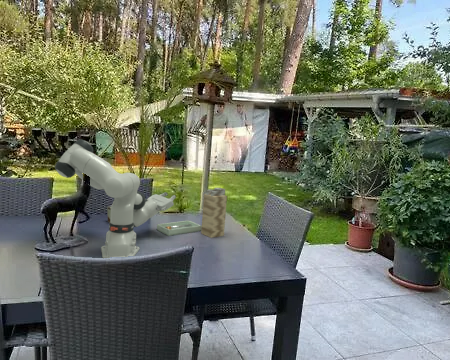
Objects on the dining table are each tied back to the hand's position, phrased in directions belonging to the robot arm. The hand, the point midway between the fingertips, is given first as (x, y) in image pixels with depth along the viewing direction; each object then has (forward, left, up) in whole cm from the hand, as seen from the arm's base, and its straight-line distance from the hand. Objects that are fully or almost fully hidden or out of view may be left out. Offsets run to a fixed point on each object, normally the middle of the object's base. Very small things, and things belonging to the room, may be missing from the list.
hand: (170, 194), depth 220 cm
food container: (+18, +33, -24) cm, 45 cm away
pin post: (-2, -27, -23) cm, 36 cm away
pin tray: (+5, -7, -23) cm, 25 cm away
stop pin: (+5, -7, -23) cm, 24 cm away
